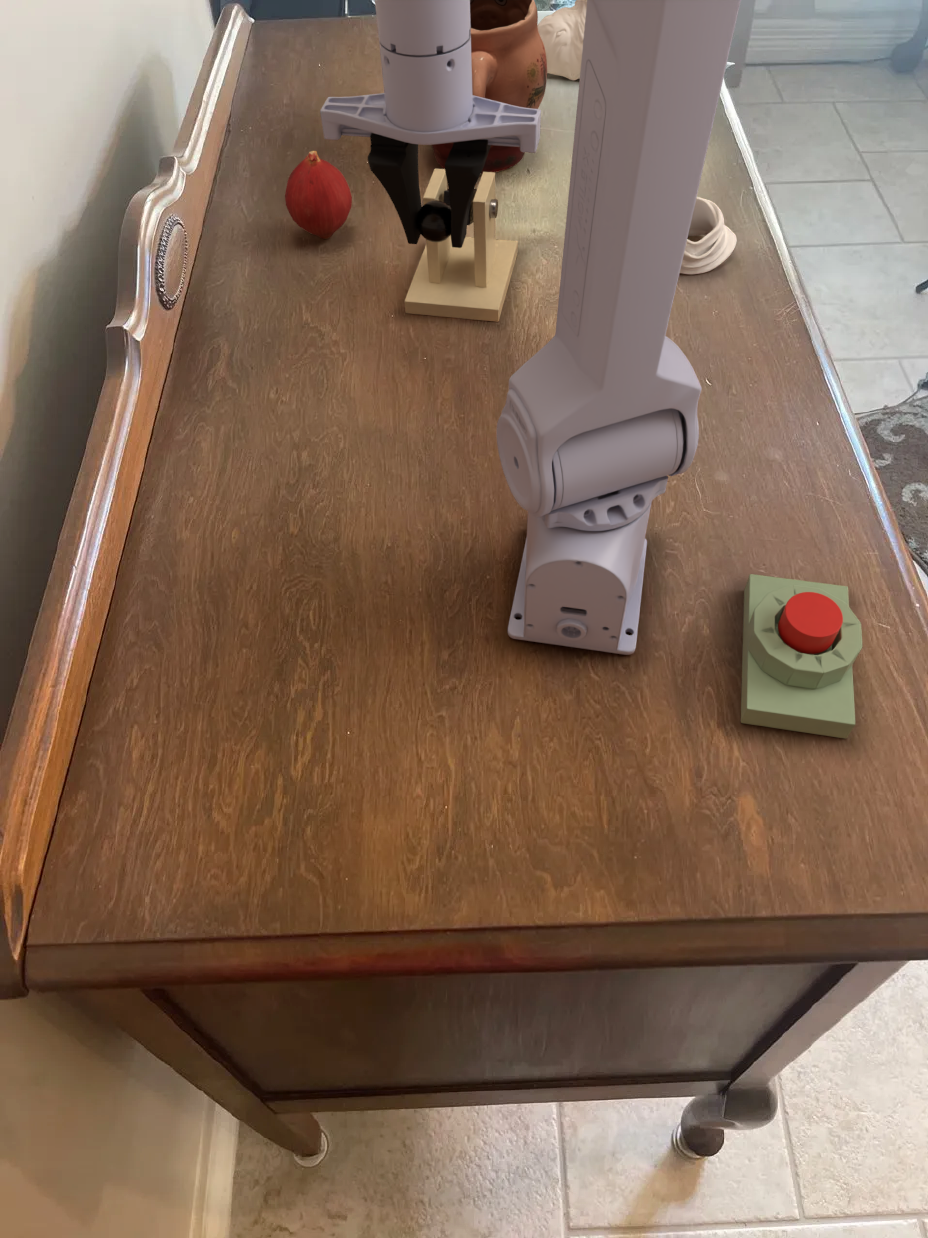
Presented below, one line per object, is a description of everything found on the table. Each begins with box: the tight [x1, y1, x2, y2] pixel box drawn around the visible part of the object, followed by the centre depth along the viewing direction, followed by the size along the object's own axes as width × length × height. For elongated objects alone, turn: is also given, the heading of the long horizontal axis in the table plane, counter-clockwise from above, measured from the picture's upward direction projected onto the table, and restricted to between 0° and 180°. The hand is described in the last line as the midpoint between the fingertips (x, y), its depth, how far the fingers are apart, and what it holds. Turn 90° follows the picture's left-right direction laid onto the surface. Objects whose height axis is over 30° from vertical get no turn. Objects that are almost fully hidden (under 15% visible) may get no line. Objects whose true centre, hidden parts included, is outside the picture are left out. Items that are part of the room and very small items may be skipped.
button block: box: [740, 573, 863, 740], centre depth 55 cm, size 10×6×4 cm, turn 169°
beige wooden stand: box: [403, 168, 519, 323], centre depth 76 cm, size 10×8×9 cm
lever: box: [417, 188, 477, 242], centre depth 70 cm, size 12×3×3 cm, turn 168°
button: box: [778, 592, 843, 654], centre depth 53 cm, size 3×3×2 cm
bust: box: [537, 0, 587, 81], centre depth 99 cm, size 12×8×11 cm
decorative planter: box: [431, 0, 548, 175], centre depth 86 cm, size 20×12×14 cm, turn 3°
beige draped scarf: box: [679, 196, 738, 275], centre depth 80 cm, size 8×7×5 cm
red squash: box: [284, 150, 353, 240], centre depth 81 cm, size 6×6×8 cm
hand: (437, 238), depth 68 cm, fingers closed on lever, 3 cm apart
